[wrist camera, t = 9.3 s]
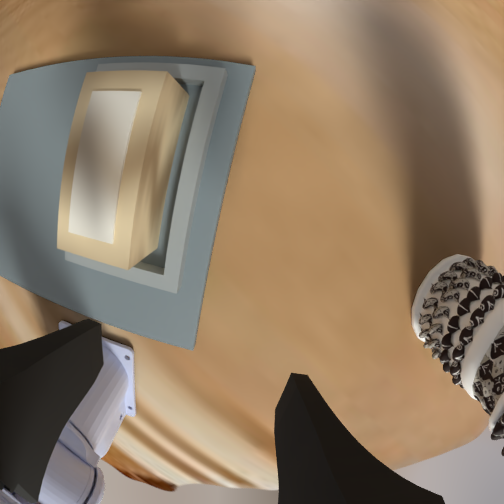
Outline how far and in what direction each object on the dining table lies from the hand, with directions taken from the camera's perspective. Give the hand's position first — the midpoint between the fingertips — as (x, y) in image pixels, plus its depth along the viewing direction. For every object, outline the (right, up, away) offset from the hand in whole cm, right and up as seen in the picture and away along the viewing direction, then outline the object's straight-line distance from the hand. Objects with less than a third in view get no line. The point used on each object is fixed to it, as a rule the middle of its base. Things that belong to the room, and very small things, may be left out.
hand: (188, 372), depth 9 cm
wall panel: (-11, +9, +8) cm, 17 cm away
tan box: (-5, +10, +7) cm, 13 cm away
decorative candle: (+19, 0, +10) cm, 22 cm away
